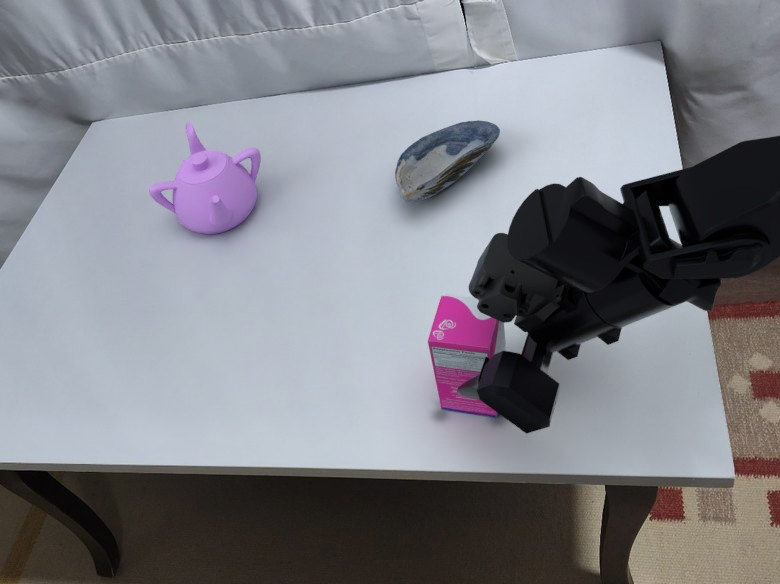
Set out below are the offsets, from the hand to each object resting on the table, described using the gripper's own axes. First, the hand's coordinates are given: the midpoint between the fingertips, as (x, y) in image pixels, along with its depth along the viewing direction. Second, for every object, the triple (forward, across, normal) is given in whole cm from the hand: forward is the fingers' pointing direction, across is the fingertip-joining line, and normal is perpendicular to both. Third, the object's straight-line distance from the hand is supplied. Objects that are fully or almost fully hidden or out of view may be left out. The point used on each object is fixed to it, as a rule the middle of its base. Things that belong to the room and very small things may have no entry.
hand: (474, 352), depth 71 cm
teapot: (+34, -20, -24) cm, 46 cm away
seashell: (+13, -31, -4) cm, 34 cm away
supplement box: (+5, 0, +4) cm, 7 cm away
